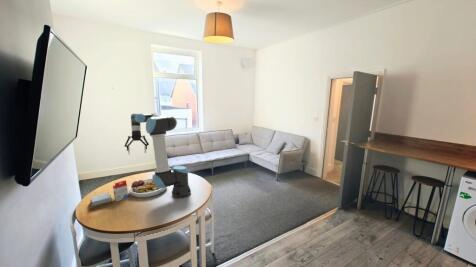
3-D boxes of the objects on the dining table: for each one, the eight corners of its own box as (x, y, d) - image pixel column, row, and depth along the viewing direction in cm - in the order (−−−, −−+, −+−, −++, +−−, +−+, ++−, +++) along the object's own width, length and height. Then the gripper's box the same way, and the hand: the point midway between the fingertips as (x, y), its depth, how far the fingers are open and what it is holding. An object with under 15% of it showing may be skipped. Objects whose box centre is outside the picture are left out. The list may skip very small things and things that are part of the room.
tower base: (112, 205, 152) (112, 201, 151) (91, 210, 144) (90, 207, 143) (110, 198, 162) (110, 194, 161) (90, 203, 154) (90, 199, 154)
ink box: (125, 195, 165) (123, 178, 163) (128, 197, 162) (126, 180, 160) (114, 199, 159) (112, 181, 156) (116, 201, 156) (114, 183, 153)
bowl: (172, 184, 188) (172, 176, 186) (157, 200, 158) (156, 190, 157) (142, 182, 191) (141, 174, 189) (120, 198, 161) (119, 189, 160)
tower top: (110, 201, 151) (110, 197, 151) (92, 206, 145) (92, 202, 144) (108, 195, 160) (108, 192, 159) (91, 199, 153) (91, 196, 153)
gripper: (149, 130, 198) (150, 152, 196) (120, 131, 183) (121, 155, 181) (151, 129, 192) (152, 152, 190) (121, 130, 177) (122, 154, 175)
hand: (137, 153), depth 186 cm, fingers open, 13 cm apart
